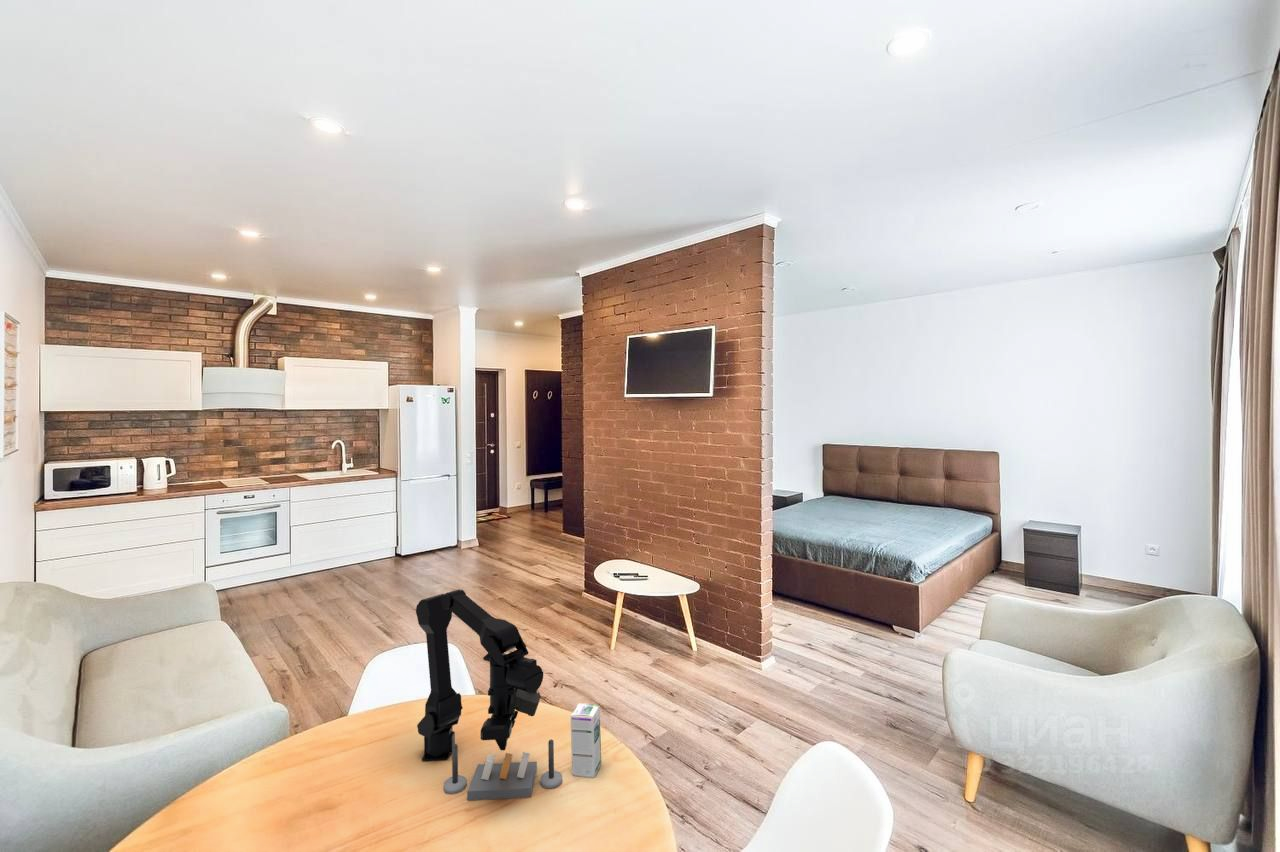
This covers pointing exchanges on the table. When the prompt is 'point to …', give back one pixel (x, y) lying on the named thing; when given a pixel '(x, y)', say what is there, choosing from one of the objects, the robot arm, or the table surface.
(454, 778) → the stand
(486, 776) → the left paddle
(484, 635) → the robot arm
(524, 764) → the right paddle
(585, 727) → the syrup box
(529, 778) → the panel
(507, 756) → the orange rectangular block
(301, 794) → the table surface
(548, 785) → the stand
